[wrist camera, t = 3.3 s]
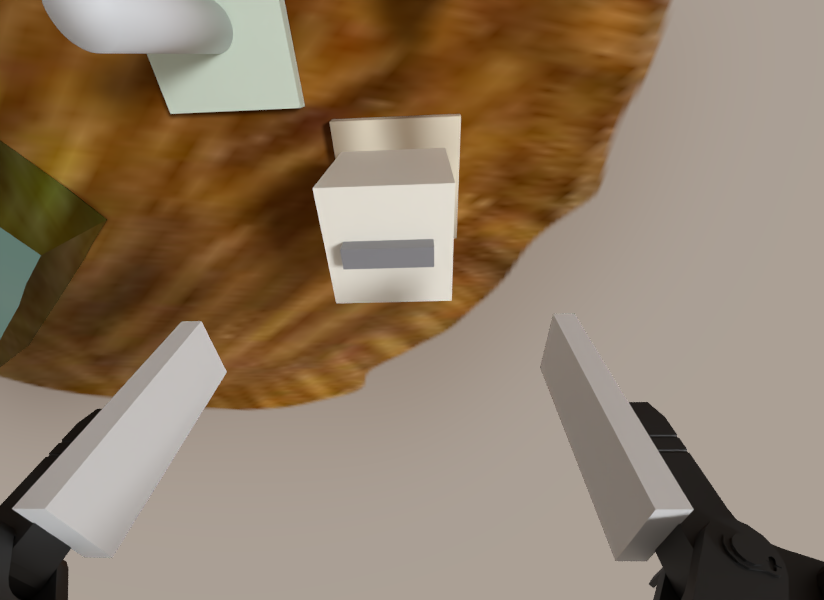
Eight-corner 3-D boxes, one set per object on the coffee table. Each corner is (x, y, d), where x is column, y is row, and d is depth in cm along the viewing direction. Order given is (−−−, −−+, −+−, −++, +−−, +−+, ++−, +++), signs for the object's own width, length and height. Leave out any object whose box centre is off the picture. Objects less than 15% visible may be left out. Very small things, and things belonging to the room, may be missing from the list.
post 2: (350, 235, 33) (322, 311, 23) (332, 119, 27) (284, 155, 17) (455, 232, 33) (471, 308, 23) (459, 113, 27) (482, 147, 17)
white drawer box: (355, 245, 28) (333, 313, 21) (341, 152, 24) (307, 194, 17) (443, 242, 28) (452, 310, 21) (445, 147, 24) (457, 189, 16)
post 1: (179, 111, 27) (44, 143, 17) (109, -71, 21) (-152, -178, 12) (304, 106, 27) (239, 135, 17) (268, -82, 21) (136, -201, 11)
